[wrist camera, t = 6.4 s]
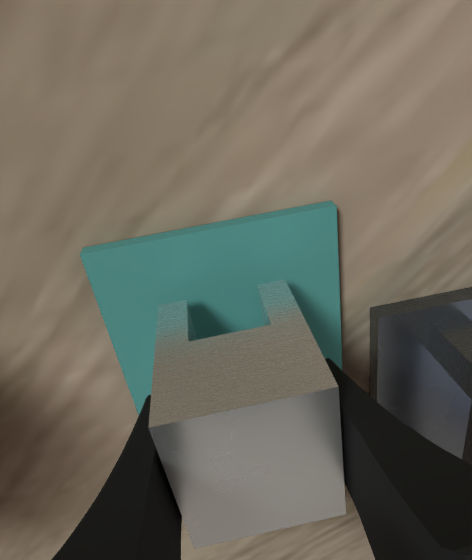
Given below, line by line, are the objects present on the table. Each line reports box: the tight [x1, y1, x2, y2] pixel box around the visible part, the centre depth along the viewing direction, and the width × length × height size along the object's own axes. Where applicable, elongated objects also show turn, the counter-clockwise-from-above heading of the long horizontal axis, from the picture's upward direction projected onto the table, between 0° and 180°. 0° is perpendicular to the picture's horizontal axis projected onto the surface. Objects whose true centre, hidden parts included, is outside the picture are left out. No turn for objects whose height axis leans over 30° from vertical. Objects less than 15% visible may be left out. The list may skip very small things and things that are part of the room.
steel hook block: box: [149, 279, 346, 549], centre depth 13 cm, size 5×4×6 cm
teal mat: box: [80, 201, 342, 414], centre depth 17 cm, size 9×9×1 cm
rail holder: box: [370, 287, 472, 465], centre depth 18 cm, size 13×6×5 cm, turn 9°
